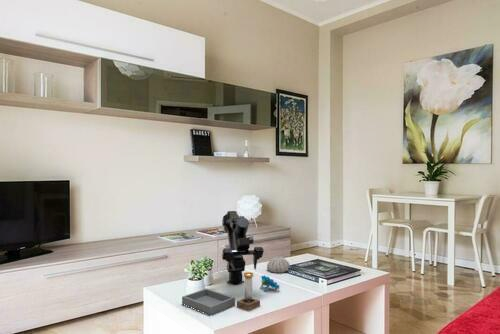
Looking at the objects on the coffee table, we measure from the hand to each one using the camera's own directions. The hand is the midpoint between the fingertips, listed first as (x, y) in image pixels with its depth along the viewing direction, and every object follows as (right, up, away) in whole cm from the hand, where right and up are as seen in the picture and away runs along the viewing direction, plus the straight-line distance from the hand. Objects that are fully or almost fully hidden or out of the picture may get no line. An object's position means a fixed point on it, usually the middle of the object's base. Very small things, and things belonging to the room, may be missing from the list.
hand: (245, 269), depth 158 cm
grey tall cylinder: (+1, -13, -8) cm, 15 cm away
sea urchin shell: (+18, -14, +46) cm, 52 cm away
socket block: (+1, -13, -8) cm, 15 cm away
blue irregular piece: (+12, -14, +14) cm, 23 cm away
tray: (-16, -13, -6) cm, 22 cm away
